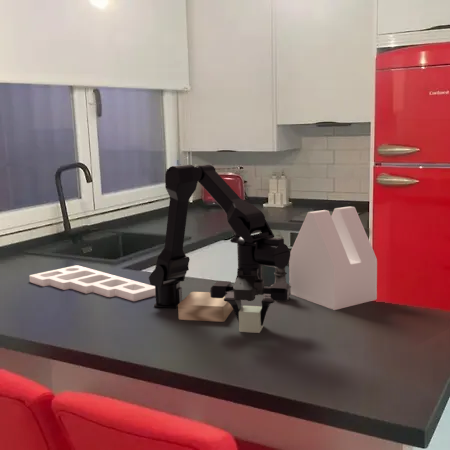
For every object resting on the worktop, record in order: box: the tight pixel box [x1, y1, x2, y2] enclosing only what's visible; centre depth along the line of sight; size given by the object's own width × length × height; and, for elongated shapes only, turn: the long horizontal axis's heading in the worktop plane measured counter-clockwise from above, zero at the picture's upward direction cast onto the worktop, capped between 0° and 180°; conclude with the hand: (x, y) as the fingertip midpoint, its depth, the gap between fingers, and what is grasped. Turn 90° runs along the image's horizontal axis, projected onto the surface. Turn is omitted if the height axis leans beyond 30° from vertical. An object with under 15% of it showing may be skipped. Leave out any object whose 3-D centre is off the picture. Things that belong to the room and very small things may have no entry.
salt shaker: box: [269, 267, 291, 302], centre depth 175 cm, size 6×6×12 cm
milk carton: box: [288, 206, 378, 311], centre depth 175 cm, size 19×15×25 cm
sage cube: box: [238, 305, 264, 334], centre depth 152 cm, size 5×5×5 cm
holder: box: [29, 264, 156, 302], centre depth 194 cm, size 45×18×3 cm, turn 44°
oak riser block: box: [177, 291, 234, 323], centre depth 165 cm, size 12×12×4 cm
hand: (251, 324), depth 152 cm, fingers closed on sage cube, 5 cm apart
